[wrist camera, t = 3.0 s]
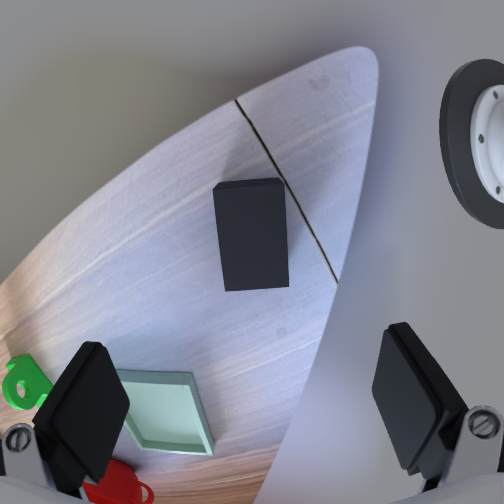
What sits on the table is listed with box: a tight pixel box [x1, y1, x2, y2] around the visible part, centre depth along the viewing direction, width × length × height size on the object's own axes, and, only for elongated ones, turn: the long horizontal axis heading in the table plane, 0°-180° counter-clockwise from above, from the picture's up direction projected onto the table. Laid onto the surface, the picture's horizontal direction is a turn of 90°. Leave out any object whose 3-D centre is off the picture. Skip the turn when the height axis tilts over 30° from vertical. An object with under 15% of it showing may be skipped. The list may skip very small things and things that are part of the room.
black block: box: [213, 178, 289, 291], centre depth 24 cm, size 5×8×4 cm, turn 5°
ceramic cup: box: [82, 459, 154, 504], centre depth 37 cm, size 13×17×10 cm
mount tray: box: [116, 370, 214, 455], centre depth 33 cm, size 12×16×2 cm
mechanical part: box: [2, 354, 53, 410], centre depth 31 cm, size 12×6×8 cm, turn 21°
